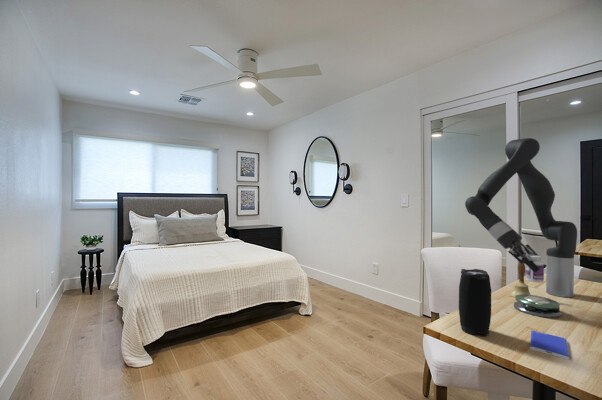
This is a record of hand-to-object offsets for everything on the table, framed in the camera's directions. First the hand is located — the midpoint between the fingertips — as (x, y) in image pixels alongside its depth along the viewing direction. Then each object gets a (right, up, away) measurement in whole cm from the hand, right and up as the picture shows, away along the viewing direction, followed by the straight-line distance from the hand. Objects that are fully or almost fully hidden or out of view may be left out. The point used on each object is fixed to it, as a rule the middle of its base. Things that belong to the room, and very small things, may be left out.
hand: (540, 269), depth 106 cm
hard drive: (-18, -17, -23) cm, 34 cm away
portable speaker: (-34, -17, -15) cm, 41 cm away
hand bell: (+7, -17, +17) cm, 25 cm away
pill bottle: (-1, -5, +2) cm, 5 cm away
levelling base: (0, -16, +2) cm, 17 cm away
